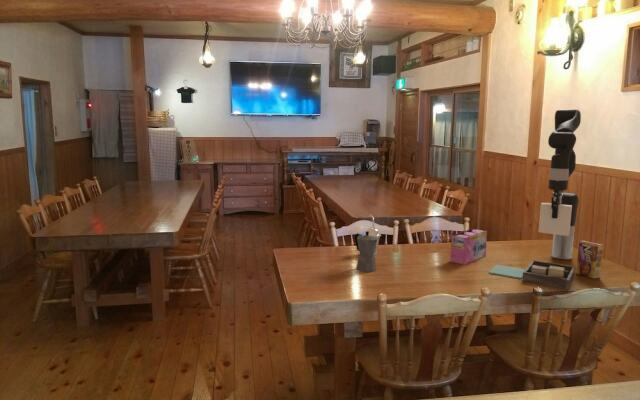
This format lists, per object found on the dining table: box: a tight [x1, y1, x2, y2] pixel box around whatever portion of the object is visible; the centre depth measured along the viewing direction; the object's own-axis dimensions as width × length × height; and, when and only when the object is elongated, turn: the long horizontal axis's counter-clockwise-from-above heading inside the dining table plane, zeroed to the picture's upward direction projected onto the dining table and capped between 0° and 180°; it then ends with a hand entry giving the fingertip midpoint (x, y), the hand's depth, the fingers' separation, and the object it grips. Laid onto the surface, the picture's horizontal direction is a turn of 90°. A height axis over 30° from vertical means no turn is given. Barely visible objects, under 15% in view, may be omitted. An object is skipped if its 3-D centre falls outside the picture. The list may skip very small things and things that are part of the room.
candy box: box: [575, 240, 604, 279], centre depth 219 cm, size 9×4×15 cm, turn 29°
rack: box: [521, 259, 575, 290], centre depth 214 cm, size 19×18×5 cm
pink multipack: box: [450, 227, 488, 265], centre depth 245 cm, size 24×8×14 cm, turn 135°
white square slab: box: [538, 202, 572, 236], centre depth 214 cm, size 4×12×13 cm, turn 57°
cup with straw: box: [364, 213, 382, 256], centre depth 251 cm, size 8×9×20 cm
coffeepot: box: [354, 230, 377, 273], centre depth 226 cm, size 15×9×18 cm, turn 33°
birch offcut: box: [548, 266, 564, 278], centre depth 209 cm, size 4×6×7 cm
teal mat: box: [488, 264, 526, 280], centre depth 224 cm, size 14×14×1 cm
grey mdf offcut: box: [531, 265, 547, 275], centre depth 212 cm, size 4×6×6 cm
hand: (555, 217), depth 214 cm, fingers closed on white square slab, 3 cm apart
